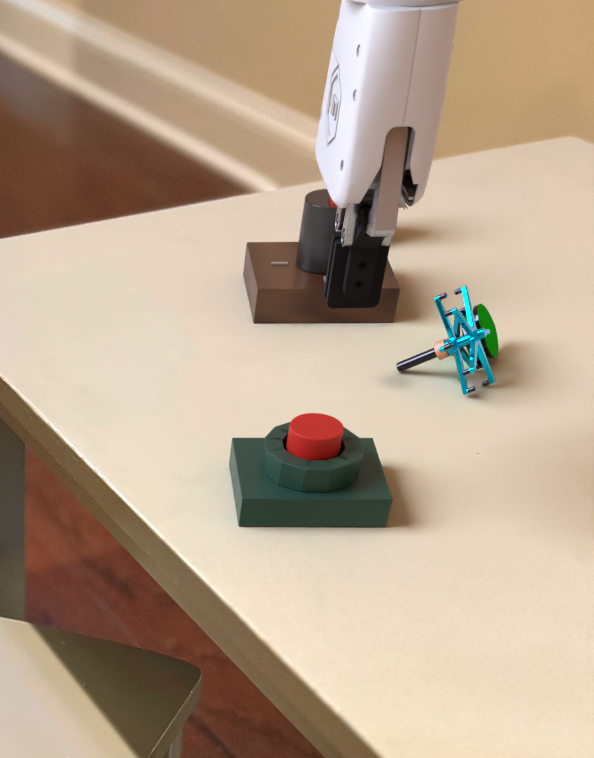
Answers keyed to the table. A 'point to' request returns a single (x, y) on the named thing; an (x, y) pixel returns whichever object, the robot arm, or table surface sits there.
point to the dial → (316, 232)
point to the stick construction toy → (463, 340)
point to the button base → (308, 484)
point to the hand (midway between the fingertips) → (350, 301)
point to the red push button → (315, 437)
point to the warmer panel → (302, 290)
